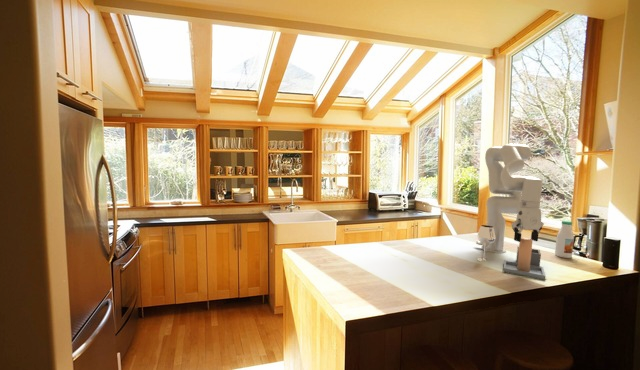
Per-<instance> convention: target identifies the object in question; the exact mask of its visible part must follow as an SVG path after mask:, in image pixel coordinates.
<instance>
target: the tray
mask: <svg viewBox="0 0 640 370" xmlns="http://www.w3.org/2000/svg"><path fill="white" fill-rule="evenodd" d="M517 265H518V263H516V261H509V260H504V262H503V270H502V271H503V272H502V273H506V274H511V275H514V276H515V275H516V276H521V277H526V278H531V279H536V280H541V281H546V274H545V273H546V272H545V269H544V266H540V267H539V266H533V265H530V272H525V271H520V270H517Z"/></svg>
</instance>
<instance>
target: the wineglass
mask: <svg viewBox="0 0 640 370" xmlns="http://www.w3.org/2000/svg"><path fill="white" fill-rule="evenodd" d="M477 239H478V240H477V241H480V242H481V243H482V244H483V245H484V250H483V258H481V257H479V258H477V261H478V262H482V261H487V259H486V253H487V251H486V247H487V246H488V245H490V244H491V243H493V242H494V241H495V232H494V227H493V226H488V225H487V224H483V225H480V227H479V230H478V232H477ZM483 245H482V246H483Z"/></svg>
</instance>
